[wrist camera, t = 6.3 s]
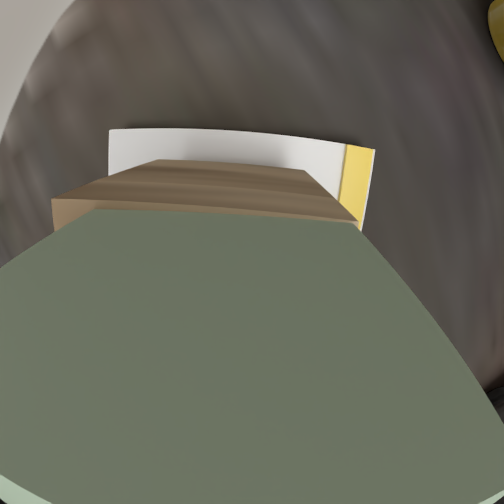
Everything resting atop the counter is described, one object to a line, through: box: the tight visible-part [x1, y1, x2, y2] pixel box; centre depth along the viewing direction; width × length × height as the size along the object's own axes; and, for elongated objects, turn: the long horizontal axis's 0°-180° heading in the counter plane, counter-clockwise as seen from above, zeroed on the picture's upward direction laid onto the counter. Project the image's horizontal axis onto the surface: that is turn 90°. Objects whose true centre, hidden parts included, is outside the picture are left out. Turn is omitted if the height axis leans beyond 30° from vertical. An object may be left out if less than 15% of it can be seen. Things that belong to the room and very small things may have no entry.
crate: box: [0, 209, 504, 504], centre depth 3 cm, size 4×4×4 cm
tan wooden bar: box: [51, 159, 359, 231], centre depth 10 cm, size 18×5×6 cm, turn 175°
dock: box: [109, 128, 375, 231], centre depth 17 cm, size 20×12×2 cm, turn 175°
